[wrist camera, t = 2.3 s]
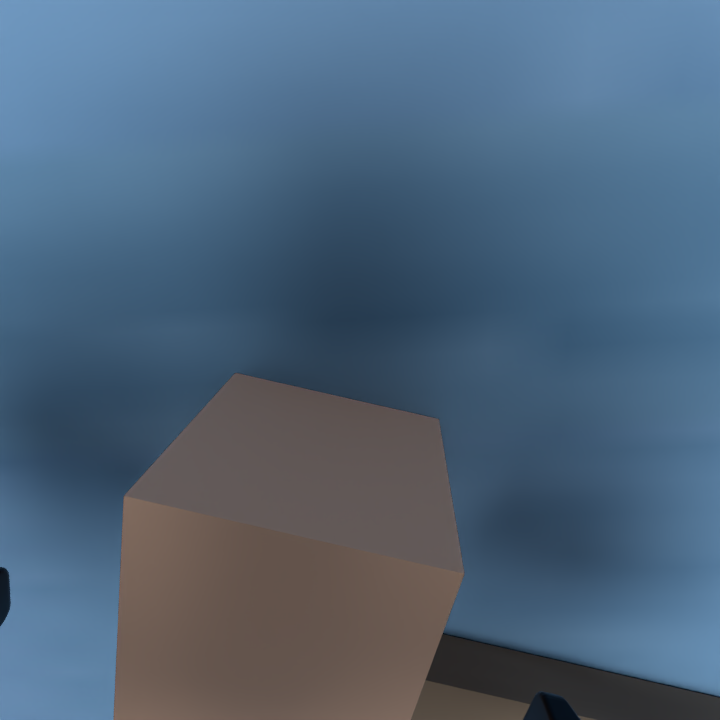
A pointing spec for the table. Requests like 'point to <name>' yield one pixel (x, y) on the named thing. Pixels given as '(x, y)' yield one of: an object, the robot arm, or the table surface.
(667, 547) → the table surface
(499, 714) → the base board
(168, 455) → the terracotta block
